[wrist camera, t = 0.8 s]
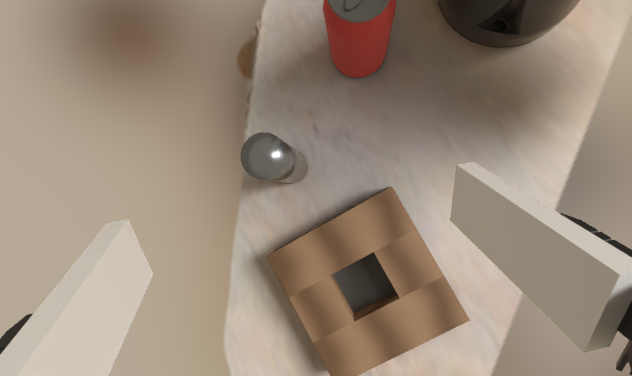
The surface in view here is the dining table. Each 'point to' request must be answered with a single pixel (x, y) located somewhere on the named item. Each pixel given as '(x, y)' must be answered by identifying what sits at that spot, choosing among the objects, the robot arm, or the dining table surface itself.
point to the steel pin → (272, 159)
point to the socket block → (366, 286)
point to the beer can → (358, 33)
